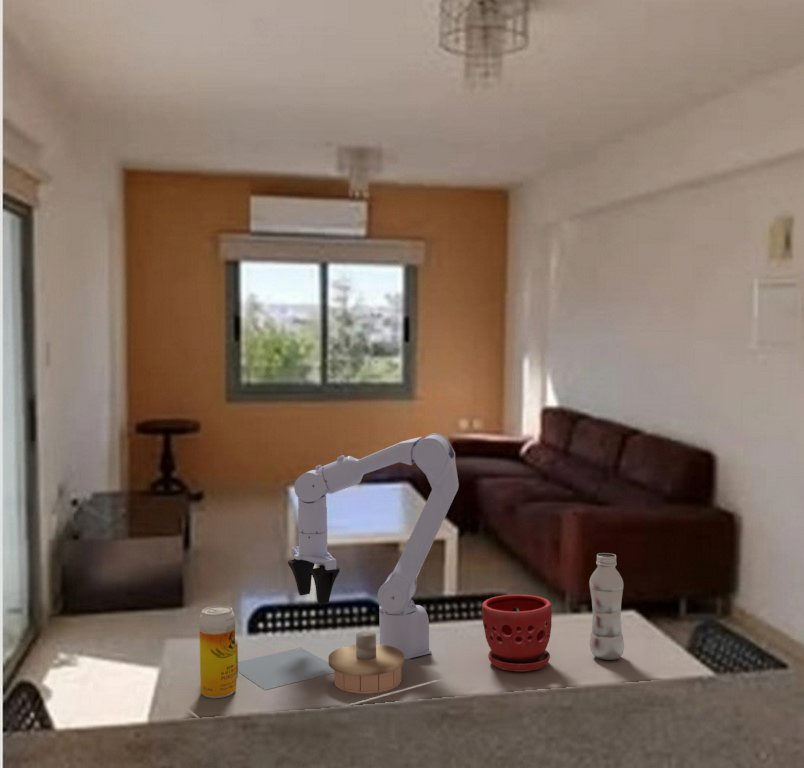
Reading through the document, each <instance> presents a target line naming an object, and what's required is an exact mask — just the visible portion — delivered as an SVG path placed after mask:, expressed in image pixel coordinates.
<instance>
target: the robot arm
mask: <svg viewBox="0 0 804 768" xmlns="http://www.w3.org/2000/svg"><path fill="white" fill-rule="evenodd" d="M398 463H402V464H405V465H407V466H412V465H414V464H416V466H417V468H419V469H420V471H422V472H423V474H425V476H426V479H427V481H428V483H429V484H430V487H431V491H430V493H429V496H428V498H427V499H426V502H425V504H424V506H423V508H422V511H421V512H420V515H419V517H418V519H417V521H416V523H415V525H414V528H413V530H412V532H411V534H410V536H409V538H408V540H407V543H406V545H405V546H404V549H403V551H402V553H401V555H400V558H398V559H399V560H398V562H397V563H396V565H395V567H394V569H393V571H392V572H391V573H390V574H388V576H387V578H386V581H385V582H384V583H383V584H382V585H381V586H380V587H379V589H378V592H377V602H378V604H379V608H378V609H379V613H378V614H379V644H381V645H387V646H391V647H394V648H397V649H399V650H400V651H402V652H403V654H404V660H408V659H414V658H417V657H421V656H422V657H423V656H425V655H429V654H432V653H433V652H432V650H431V649H430V621H429V620H430V619H429V615H428V613H427V611H426V609H425V608H424V607H423V606H422V605H420V604H415V602H414V600H413V598H412V597H414V595H415V594H416V591H417V588H418V587H417V586H418V585H417V580H418V576H419V573H420V572H421V569H422V567H423V565H424V563H425V561H426V558H427V556H428V554H429V552H430V550H431V547H433V546H432V545H433V544H434V542H435V539H436V538H437V535H438V533H439V530H440V528H441V526H442V524H443V522H444V520H445V518H446V516H447V514H448V512H449V509H450V507H451V505H452V503H453V500H454V498H455V496H456V494H457V492H458V490H459V487H460V486H459V485H460V483H459V478H458V470H457V464H456V452H455V450H454V448H453V446H452V445H451V443H450V440H449V439H448V438H447V437H446V436H444V435H442V434H440V433H430V434H427V435H425V437H423V436H418V437H415V438H410V439H407V440H403V441H400V442H397V443H395V444H394V445H391V446H388V447H386V448H382V449H381V450H378V451H376V452H374V453H371V454H368V455H367V456H364V457H362V458H356V457H353V455H352V456H351V455H348V456H345V455H344V454H342V455H340V456H337V457H336V460H335V461H333V462H330V463H327V464H325V465H323V466H322V464H319V465H318V464H317V465H316V466H315V469H312V470H308V471H306V472H304V473H302V474H301V475H299V476H298V477H297V479H296V480H295V482H294V484H293V485H294V487H293V488H294V489H293V490H294V493H295V495H296V497H297V499H298V500H297V502H298V503H297V504H298V505H297V507H298V508H297V521H298V523H297V524H298V525H297V526H298V528H297V529H298V546H292V547H291V557H292V558H293V559H291V560H287V561H288V562H287V564H288V567H290V569H291V571H292V574H293V576H294V579H295V583H296V588H297V591H298V595H299V596H307V595H310V593H311V590H312V578H313V581H314V585H315V592H316V593H315V594H316V600H317V603H318V604H319V605H323V604H328V603H330V598H331V595H332V590H333V586H334V583H335V581H336V580H337V579H336V578H337V577H338V575H339V573H340V571H341V569H340V567H338V566H337V559H336V558H334V557H333V556H332V555H331V553H330V552H328V507H327V494H329V495H330V494H331V495H332V494H334V493H337V492H339V491H342V490H345V489H349V488H350V487H354V486H355V485H358V484H360V483H361V482H362V479H363V477H364V475H365V474H369V473H371V472H374V471H377V470H381V469H383V468H385V467H390V466H392V465H395V464H398ZM315 565H317V566H318V567H316V568H315V567H314V566H315Z"/></svg>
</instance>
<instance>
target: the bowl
mask: <svg viewBox="0 0 804 768" xmlns="http://www.w3.org/2000/svg"><path fill="white" fill-rule="evenodd" d="M333 677H334V680H333V681H334V685H335V687H337V688H338V689H340V690H342V691H345V692H348V693H353V694H354V693H355V694H378V693H383V692H386V691H390V690H394V689H395V688H397V687H398V686H399V685H400V684H401V682H402V666H401V667H400V668H398V669H396V670H394V671H391V672H388V673H384V674H378V675H366V676H364V675H350V674H344V673H340V672H338V671H335V670H334V673H333Z"/></svg>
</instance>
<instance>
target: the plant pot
mask: <svg viewBox="0 0 804 768" xmlns="http://www.w3.org/2000/svg"><path fill="white" fill-rule="evenodd" d="M514 609H517V610H518V611H513V610H514ZM481 611H482V612H481V613H482V625H483V629H484V636H485V638H486V642H487V644H488V645H487V646H488V647H489V649H490V651H489V652H488V654H487V655H488V657H487V658H488V659H489V662H490V663H491V664H492V665H494V666H495V667H497V668H498V669H501V670H502V671H511V672H529V671H531V672H532V671H535V670H539V669H542V668H543V667H544V666H546V665H547V664H548V662H549V660H550V659H551V654H550V652H549V651H548V650H546V649H547V647H548V644H549V641H550V638H551V633H552V632H551V631H552V616H553V615H552V604H551V602H550V601H549V600H548V599H546V598H544V597H542V596H537V595H533V594H532V595H531V594H505V595H498V596H494V597H490V598H488V599H485V600H484V601H483V602H482V604H481Z"/></svg>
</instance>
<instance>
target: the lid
mask: <svg viewBox="0 0 804 768" xmlns="http://www.w3.org/2000/svg"><path fill="white" fill-rule="evenodd" d="M328 663H329V666H330V667H331V668H332V669H333V670H335V671H338V672H340V673H344V674H350V675H364V676H366V675H378V674H384V673H388V672H391V671H394V670H396V669H398V668H400V667H401V668H402V666H403V665H404V663H405V659H404V654H403V652H402V651H400V650H399V649H397V648H394V647H391V646H387V645H381V644H380V643H377V633H376V632H374V631H369V630H367V631H364V630H363V631H359V632H356V634H355V644H351V645H346V646H343V647H340V648H337V649H334V650H333V651H332V652H330V653H329V655H328Z"/></svg>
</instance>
